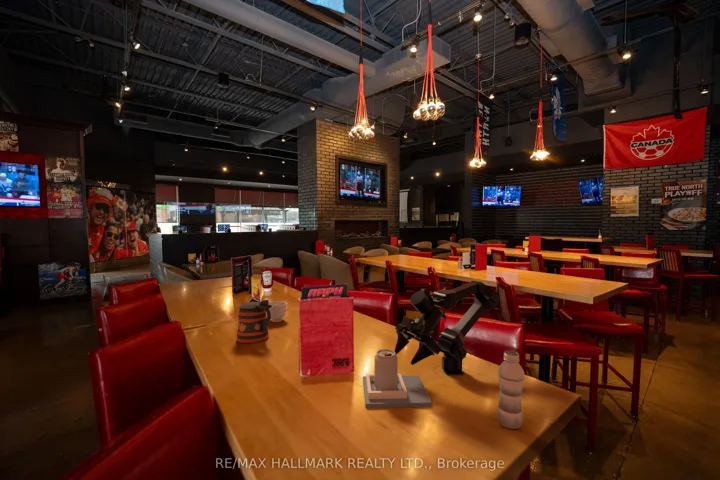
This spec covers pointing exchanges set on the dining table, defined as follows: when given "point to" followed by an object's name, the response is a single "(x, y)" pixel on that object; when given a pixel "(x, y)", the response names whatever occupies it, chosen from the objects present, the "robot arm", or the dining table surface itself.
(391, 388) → the can
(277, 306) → the teacup
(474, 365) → the dining table surface
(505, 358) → the plastic bottle
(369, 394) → the base board
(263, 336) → the beer stein
